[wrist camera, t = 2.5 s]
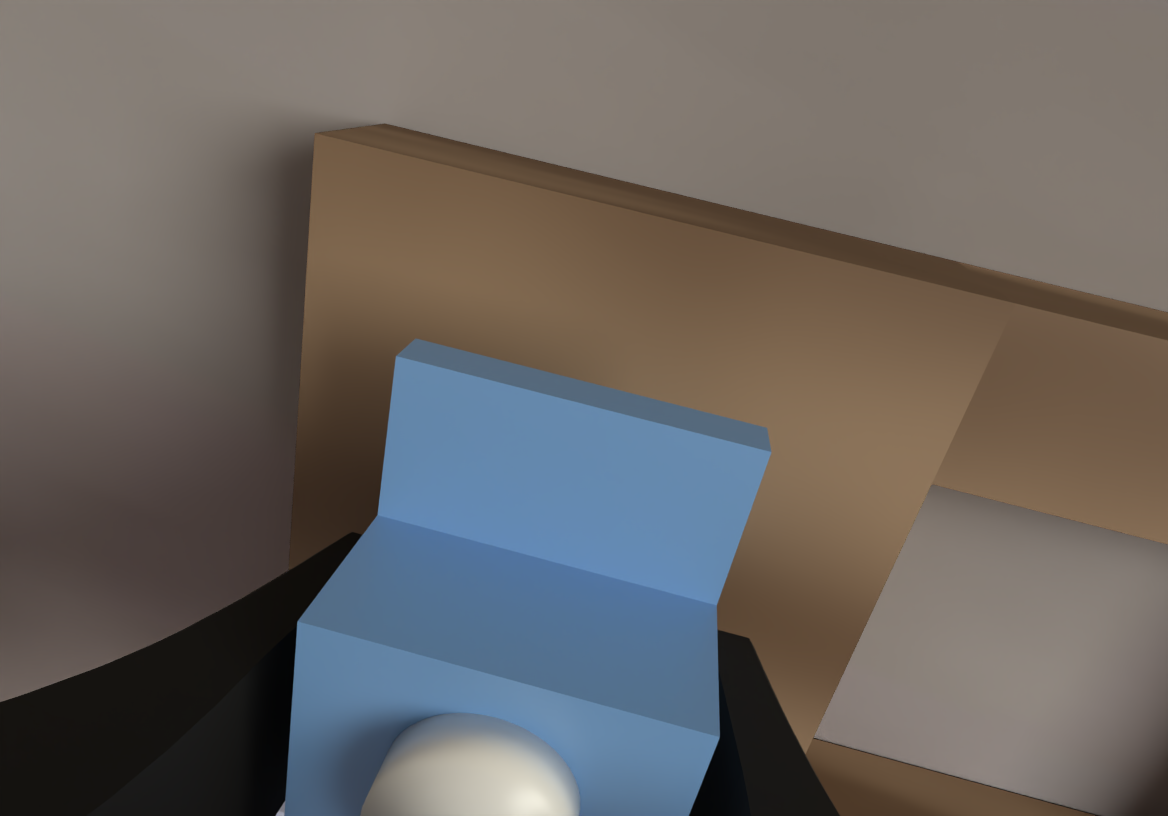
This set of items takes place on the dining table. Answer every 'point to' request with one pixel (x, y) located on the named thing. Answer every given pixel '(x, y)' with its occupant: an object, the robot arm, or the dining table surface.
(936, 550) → the dining table surface
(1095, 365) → the plate
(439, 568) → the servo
